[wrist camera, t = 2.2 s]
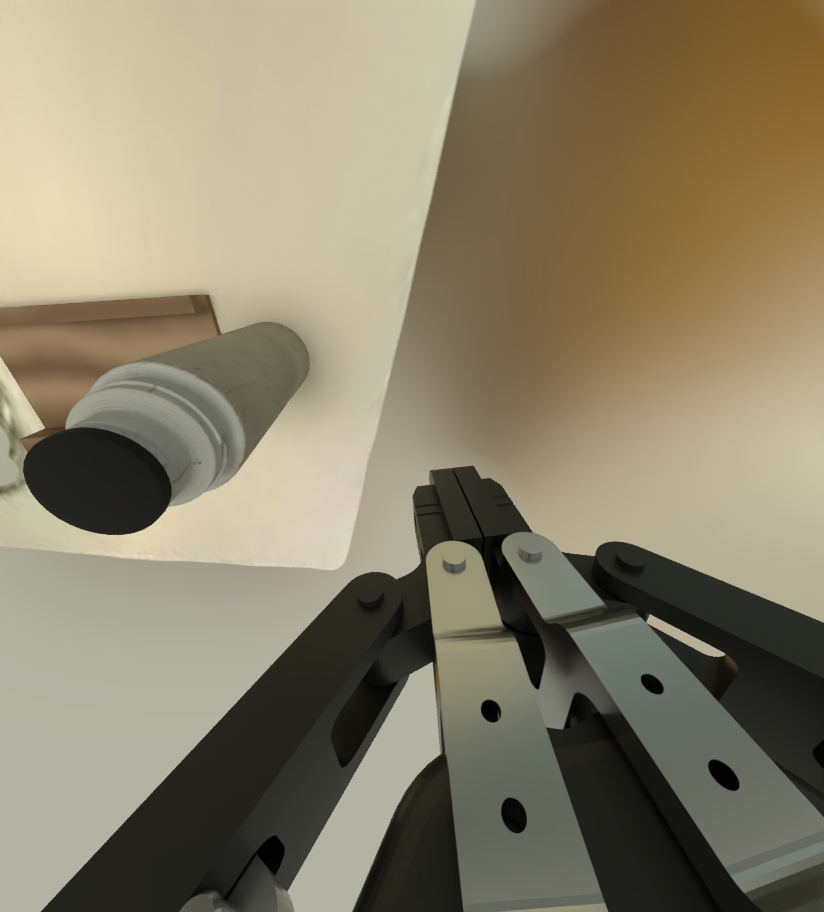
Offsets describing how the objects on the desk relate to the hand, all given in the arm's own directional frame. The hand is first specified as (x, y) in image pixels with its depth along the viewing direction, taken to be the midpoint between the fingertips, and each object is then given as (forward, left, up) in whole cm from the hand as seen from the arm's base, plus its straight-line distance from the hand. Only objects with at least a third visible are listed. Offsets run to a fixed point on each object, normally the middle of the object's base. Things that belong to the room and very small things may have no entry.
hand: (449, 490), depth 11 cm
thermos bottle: (0, -14, -31) cm, 34 cm away
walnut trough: (0, -30, -31) cm, 43 cm away
